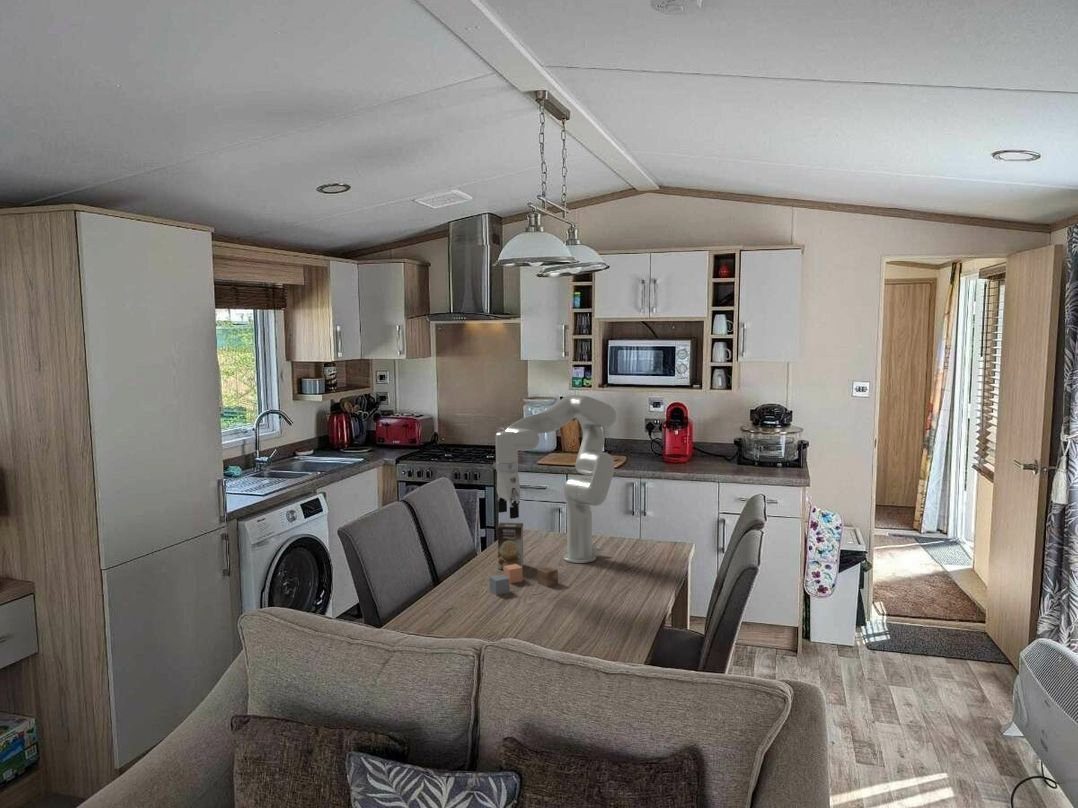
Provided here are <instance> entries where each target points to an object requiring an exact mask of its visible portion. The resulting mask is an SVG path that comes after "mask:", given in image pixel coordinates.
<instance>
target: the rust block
mask: <svg viewBox="0 0 1078 808" xmlns="http://www.w3.org/2000/svg"><path fill="white" fill-rule="evenodd" d="M502 570H503V575H505V576H506V577H508V578H509V584H515V583H521V582H523V581H524V580H523V579H524V577H523V574H524V573H523V571H524V570H523V567H521V566H519V565H517V564H512V565H507V566H503V569H502Z"/></svg>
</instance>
